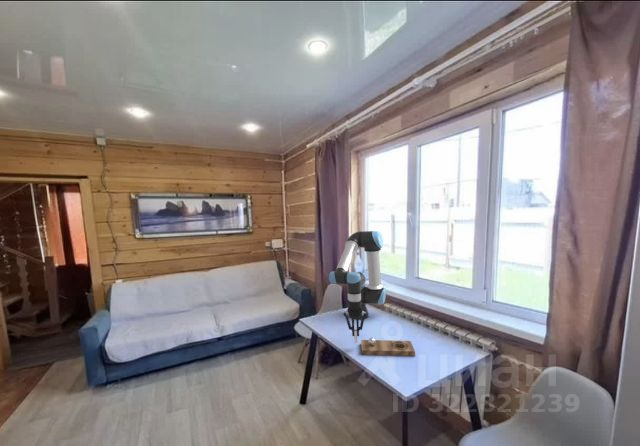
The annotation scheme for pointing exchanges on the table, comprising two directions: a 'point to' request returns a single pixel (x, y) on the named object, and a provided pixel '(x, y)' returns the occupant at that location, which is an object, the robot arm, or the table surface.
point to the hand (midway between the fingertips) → (355, 341)
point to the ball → (372, 341)
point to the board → (388, 348)
